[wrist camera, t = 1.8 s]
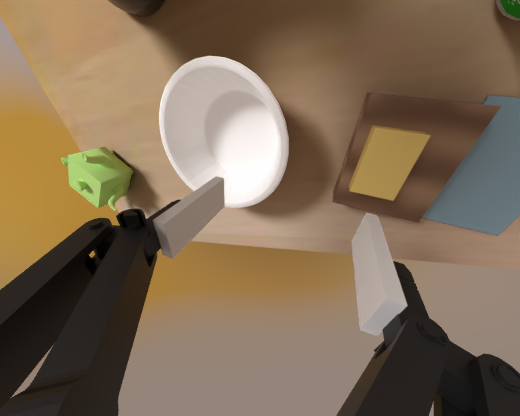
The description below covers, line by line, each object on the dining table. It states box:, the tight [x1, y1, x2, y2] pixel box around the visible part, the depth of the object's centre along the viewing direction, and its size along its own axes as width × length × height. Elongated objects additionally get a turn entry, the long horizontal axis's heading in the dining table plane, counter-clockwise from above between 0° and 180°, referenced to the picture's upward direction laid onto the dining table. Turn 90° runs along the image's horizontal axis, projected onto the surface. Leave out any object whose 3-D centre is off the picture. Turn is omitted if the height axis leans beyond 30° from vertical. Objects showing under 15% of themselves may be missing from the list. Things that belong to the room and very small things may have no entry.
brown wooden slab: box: [333, 93, 501, 222], centre depth 28 cm, size 16×13×4 cm
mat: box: [422, 95, 520, 236], centre depth 26 cm, size 18×12×1 cm
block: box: [349, 125, 431, 201], centre depth 26 cm, size 9×6×2 cm, turn 174°
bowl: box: [159, 56, 289, 208], centre depth 33 cm, size 22×22×8 cm
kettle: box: [61, 147, 134, 210], centre depth 48 cm, size 15×14×11 cm
